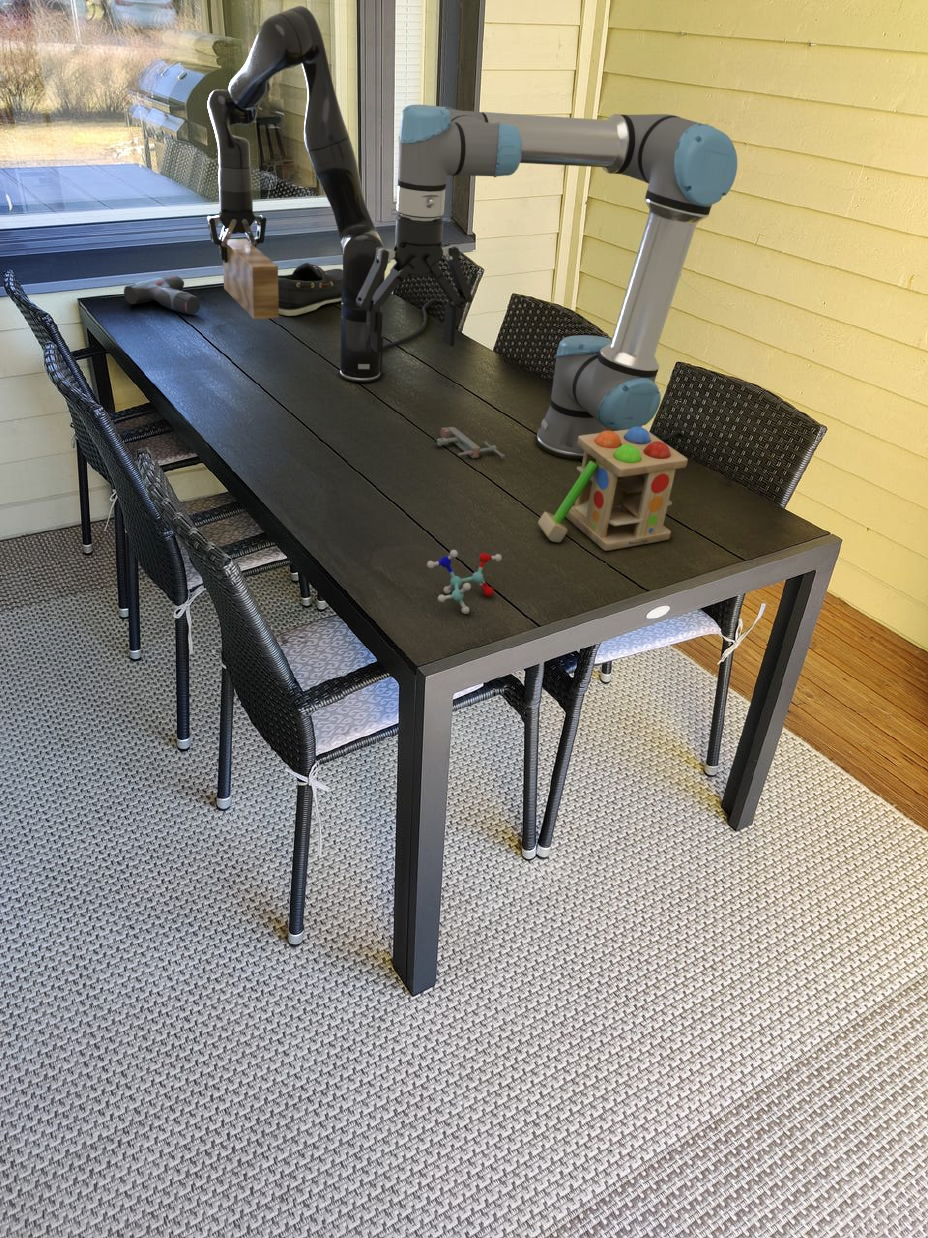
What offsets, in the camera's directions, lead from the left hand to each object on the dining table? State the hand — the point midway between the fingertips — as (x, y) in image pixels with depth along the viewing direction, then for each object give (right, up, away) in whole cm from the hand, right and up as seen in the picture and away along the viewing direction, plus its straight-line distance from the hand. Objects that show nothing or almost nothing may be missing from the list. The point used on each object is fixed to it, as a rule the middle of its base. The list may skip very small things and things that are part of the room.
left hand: (238, 261), depth 236 cm
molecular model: (+54, -83, -80) cm, 127 cm away
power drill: (-23, -2, +28) cm, 36 cm away
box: (+3, -11, -2) cm, 12 cm away
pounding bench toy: (+79, -70, -58) cm, 120 cm away
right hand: (+46, -40, -69) cm, 92 cm away
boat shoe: (+12, +3, +40) cm, 42 cm away
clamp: (+55, -52, -34) cm, 83 cm away
